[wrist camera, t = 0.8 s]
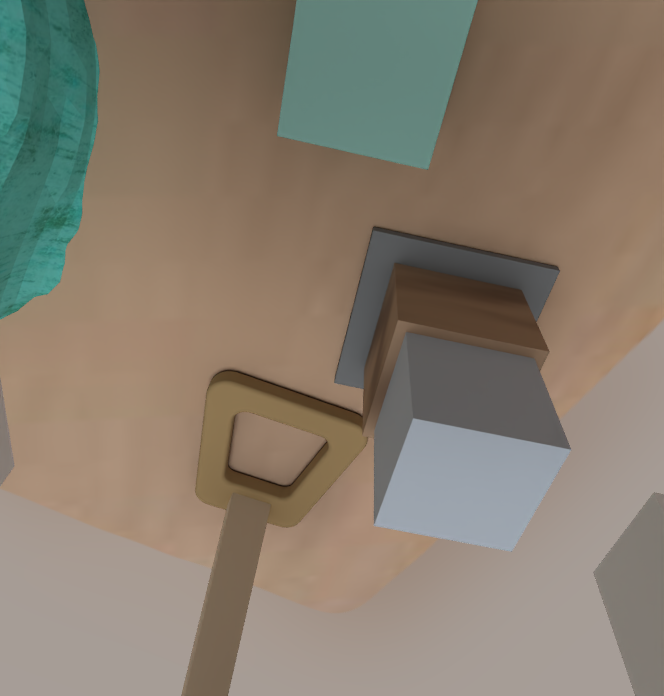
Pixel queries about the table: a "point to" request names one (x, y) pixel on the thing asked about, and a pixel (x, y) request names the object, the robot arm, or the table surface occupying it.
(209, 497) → the headphone stand
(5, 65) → the decorative stone
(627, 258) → the table surface
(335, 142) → the teal block
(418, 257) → the coaster
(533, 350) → the base block
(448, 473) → the gray block
